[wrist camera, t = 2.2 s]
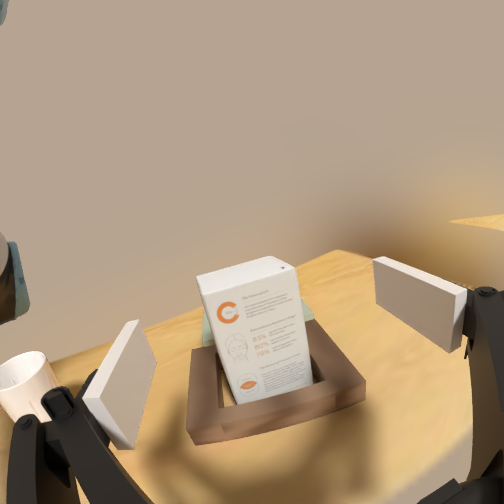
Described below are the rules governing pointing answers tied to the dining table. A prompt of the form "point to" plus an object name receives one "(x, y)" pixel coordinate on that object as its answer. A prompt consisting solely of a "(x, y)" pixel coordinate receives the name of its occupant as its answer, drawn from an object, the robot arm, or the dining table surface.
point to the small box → (258, 327)
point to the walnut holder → (272, 408)
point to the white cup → (26, 385)
